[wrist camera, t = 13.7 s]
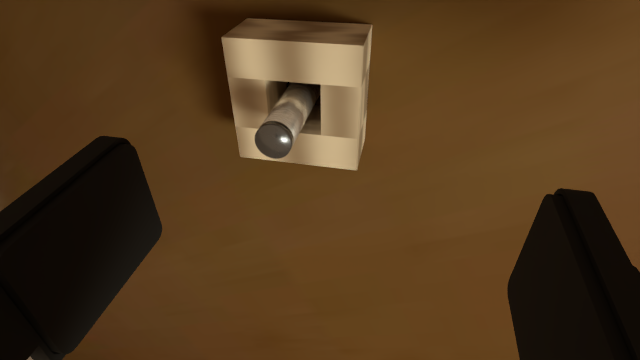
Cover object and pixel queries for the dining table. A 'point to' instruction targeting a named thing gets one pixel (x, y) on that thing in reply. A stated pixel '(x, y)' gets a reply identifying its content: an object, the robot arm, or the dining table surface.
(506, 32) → the dining table surface
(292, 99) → the peg
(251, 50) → the square wooden hole block
